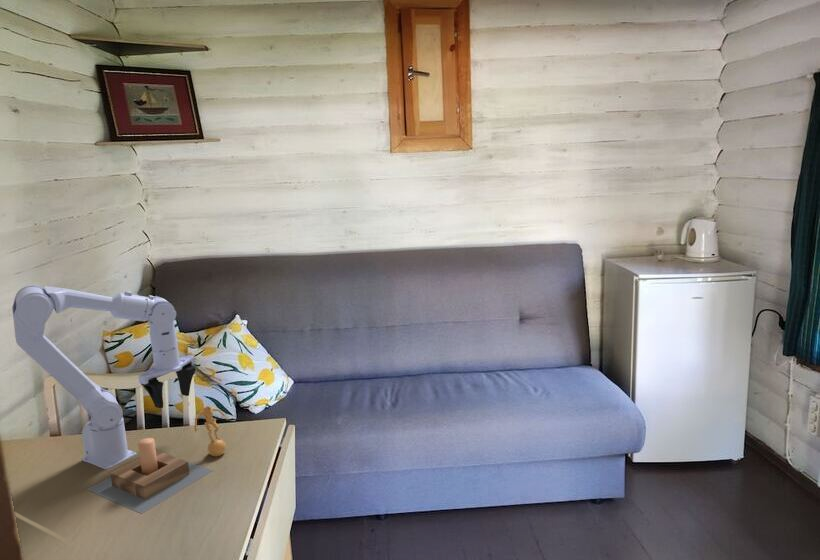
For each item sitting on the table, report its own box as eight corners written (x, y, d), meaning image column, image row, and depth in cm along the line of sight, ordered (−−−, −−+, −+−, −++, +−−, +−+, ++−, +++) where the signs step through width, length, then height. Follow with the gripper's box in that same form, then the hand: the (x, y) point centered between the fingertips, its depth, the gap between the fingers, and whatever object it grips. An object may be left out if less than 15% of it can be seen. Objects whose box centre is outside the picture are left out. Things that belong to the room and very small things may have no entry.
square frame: (112, 485, 127) (110, 472, 126) (156, 461, 136) (155, 449, 135) (145, 499, 121) (143, 486, 121) (189, 474, 131) (188, 461, 130)
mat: (86, 491, 126) (86, 489, 126) (159, 453, 141) (159, 451, 141) (141, 515, 117) (141, 513, 117) (213, 472, 132) (213, 470, 132)
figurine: (206, 465, 135) (200, 416, 132) (192, 457, 139) (186, 409, 136) (237, 451, 141) (233, 404, 138) (223, 443, 145) (219, 397, 142)
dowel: (139, 481, 128) (134, 443, 126) (152, 474, 131) (147, 436, 129) (150, 485, 127) (145, 446, 125) (162, 477, 129) (157, 439, 127)
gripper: (149, 360, 134) (157, 416, 137) (200, 340, 146) (207, 392, 149) (129, 356, 137) (138, 410, 140) (181, 337, 149) (188, 387, 152)
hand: (172, 401), depth 145 cm, fingers open, 7 cm apart
